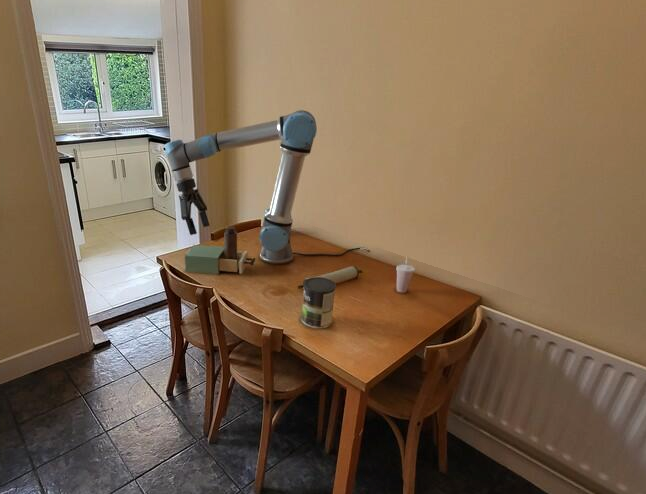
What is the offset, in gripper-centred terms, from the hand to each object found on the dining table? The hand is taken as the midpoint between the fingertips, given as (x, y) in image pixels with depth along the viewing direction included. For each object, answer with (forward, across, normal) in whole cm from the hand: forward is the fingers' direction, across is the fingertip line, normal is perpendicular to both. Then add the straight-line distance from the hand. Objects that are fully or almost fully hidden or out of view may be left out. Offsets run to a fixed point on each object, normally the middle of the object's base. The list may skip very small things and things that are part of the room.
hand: (200, 230), depth 171 cm
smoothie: (+42, -6, +72) cm, 84 cm away
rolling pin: (+34, -3, +47) cm, 58 cm away
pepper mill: (+18, -5, +7) cm, 20 cm away
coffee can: (+36, +26, +45) cm, 63 cm away
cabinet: (+17, -4, -5) cm, 18 cm away
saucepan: (+21, -53, +20) cm, 60 cm away
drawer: (+20, -5, +8) cm, 22 cm away
